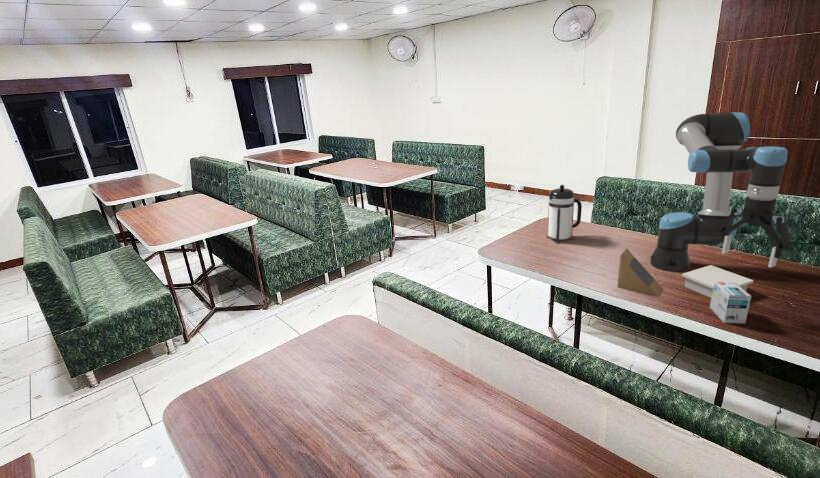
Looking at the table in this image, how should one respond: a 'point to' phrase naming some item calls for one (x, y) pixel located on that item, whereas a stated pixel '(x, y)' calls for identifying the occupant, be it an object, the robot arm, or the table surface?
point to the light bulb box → (730, 302)
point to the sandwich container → (636, 276)
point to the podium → (712, 279)
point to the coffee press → (562, 213)
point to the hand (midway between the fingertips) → (747, 259)
